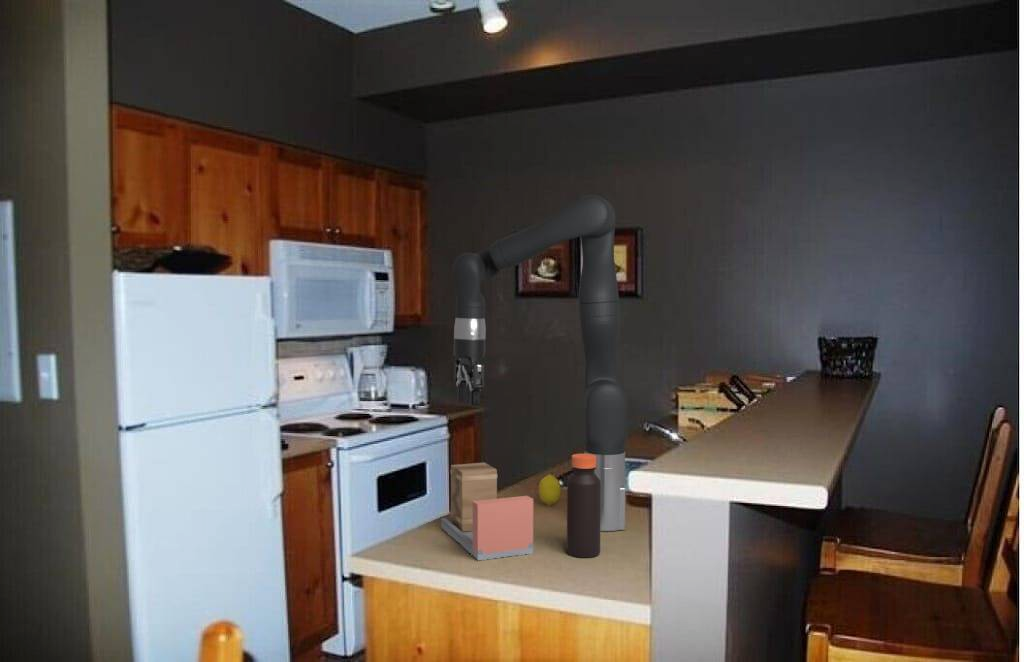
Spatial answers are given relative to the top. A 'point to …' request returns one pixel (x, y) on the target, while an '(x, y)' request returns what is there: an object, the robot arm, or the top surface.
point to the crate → (470, 491)
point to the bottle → (583, 508)
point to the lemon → (549, 489)
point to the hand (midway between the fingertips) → (468, 404)
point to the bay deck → (467, 543)
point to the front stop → (502, 524)
